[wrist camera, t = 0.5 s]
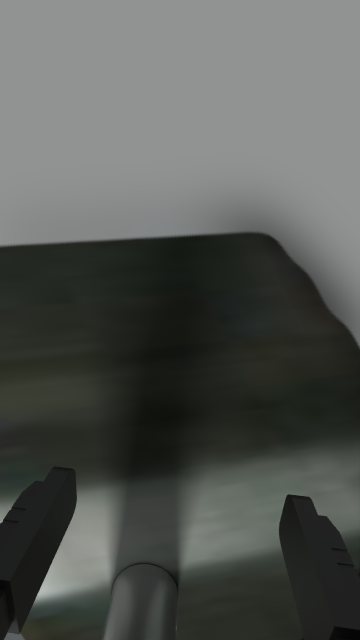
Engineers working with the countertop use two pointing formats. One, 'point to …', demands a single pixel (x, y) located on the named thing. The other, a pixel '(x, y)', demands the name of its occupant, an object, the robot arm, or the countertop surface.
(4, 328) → the countertop surface
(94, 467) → the countertop surface
